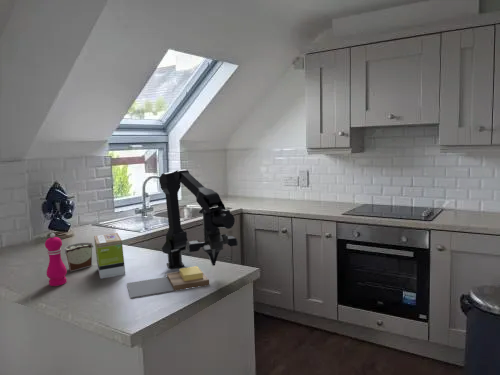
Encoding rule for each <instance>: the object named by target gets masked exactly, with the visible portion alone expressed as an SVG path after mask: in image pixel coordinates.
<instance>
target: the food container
mask: <svg viewBox="0 0 500 375" xmlns="http://www.w3.org/2000/svg"><path fill="white" fill-rule="evenodd" d="M93 248H94V245H93V243H92V242H79V243H72V244H68V245H67V246H65V247H64V251H63V254H65V256H66V259H67V264H68V270H69V271H70V272H74V271H78V270H83V269H86V268H89V267H92V266H93Z"/></svg>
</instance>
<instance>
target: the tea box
mask: <svg viewBox="0 0 500 375" xmlns="http://www.w3.org/2000/svg"><path fill="white" fill-rule="evenodd" d="M93 238H94V246H95V253H96V254H95V255H96V263H97V269H98V275H99V279H107V278H113V277H119V276H123V275H126V268H125V257H124V247H123V241H122V238H121V237H120V235H119V233H118V232H113V233H105V234H101V235H100V234H99V235H94V237H93Z"/></svg>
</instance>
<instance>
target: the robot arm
mask: <svg viewBox="0 0 500 375" xmlns="http://www.w3.org/2000/svg"><path fill="white" fill-rule="evenodd" d="M158 181H159V185H160V188H161V190H162V192H163V193H164V194H165V203H166V210H167V211H166V212H167V221H168V231H167V233H166V235H165V243H164V244H163V246H162V247H161V249H162V253H163V254H166V255H167V260H168V261H167V263H166V265H167V267H168V268H169V269H175V268H180V267H181V268H183V267H185V264H184V262H183V256H182V251H186V249H187V251H188V252H189V253H192V252H193V253H194V252H199V251H200V250H202V251H203V252H204V253H206V254H207V256H208V259H209V261H210V263H211V265H212V266H213V267H214V266H216V262H217V260H218V257H219V256H218V255H219V254H220V252H221V251H222V250H224V245H228V246H229V247H236V246H238V244H239V242H238V239H237V238H236V237H235V236H233V235H228V233H223V234H221V231H220V228H222V229H227V230H230V229H232V228H233V226H234V225H235V222H236V221H235V220H236V219H235V216H234V215H233V214H232V213H231V211H230V209H227V208H226V206H225V204H224V202H223V200H222V199H221V197H220V195H219V193H218V192H217V191H214V190H213V189H211V188H208V187H205V186H204V185H203V184H202V183H201V182H200V181H199V180H197V178H195V177H194V176H193V175H192V174H191V173H190V172H189V170H188V169H185V168H184V169H177V170H175V171H171V172H163V173H161V175H160V176H159V179H158ZM181 185H183V186H184V188H186V189H187V190H188V191H189V192H190V193H192V194H193V195H194V197H195V198H196V199H195V200H196V202H197V204H198V205H199V207H200V208H201V209H200V210H199V212H198V213H199V214H202V219H203V220H202V222H203V241H202V242H199V241H198V240H196V239H195V240H190V241H188V234H187V231H184V229H183V228H182V224H181V213H180V205H179V202H180V201H179V191H180V190H181Z"/></svg>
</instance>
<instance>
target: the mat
mask: <svg viewBox="0 0 500 375" xmlns="http://www.w3.org/2000/svg"><path fill="white" fill-rule="evenodd" d="M126 286H127V288H128V294H129V296H130V297H129V298H130V299H131V300H133V299H137V298H144V297H150V296H156V295H162V294H167V293H168V294H169V293H173V291H174V289H173V287H172V285H171V284H170V282H169V280H168V278H167V276H164V277H163V276H162V277H157V278H152V279H151V278H150V279H146V280H138V281H132V282H127V283H126ZM174 292H175V291H174Z"/></svg>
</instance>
